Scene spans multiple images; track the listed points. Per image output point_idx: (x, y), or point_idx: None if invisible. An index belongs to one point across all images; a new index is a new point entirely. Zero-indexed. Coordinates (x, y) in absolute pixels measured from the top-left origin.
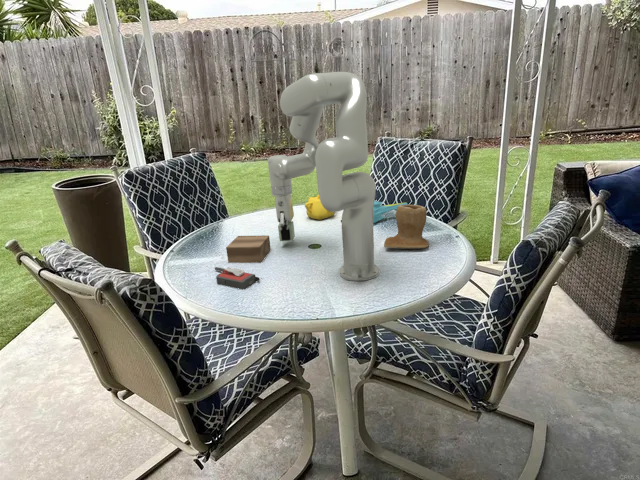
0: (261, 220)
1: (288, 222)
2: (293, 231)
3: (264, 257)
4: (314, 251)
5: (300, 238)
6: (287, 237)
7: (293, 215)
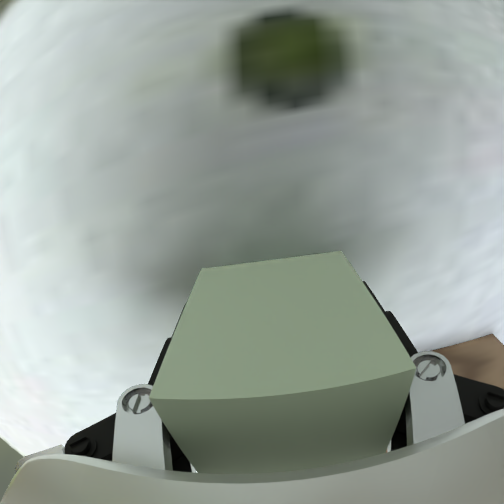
0: (15, 424)
1: (231, 443)
2: (254, 299)
3: (459, 346)
4: (397, 52)
5: (109, 232)
6: (390, 312)
7: (91, 480)
